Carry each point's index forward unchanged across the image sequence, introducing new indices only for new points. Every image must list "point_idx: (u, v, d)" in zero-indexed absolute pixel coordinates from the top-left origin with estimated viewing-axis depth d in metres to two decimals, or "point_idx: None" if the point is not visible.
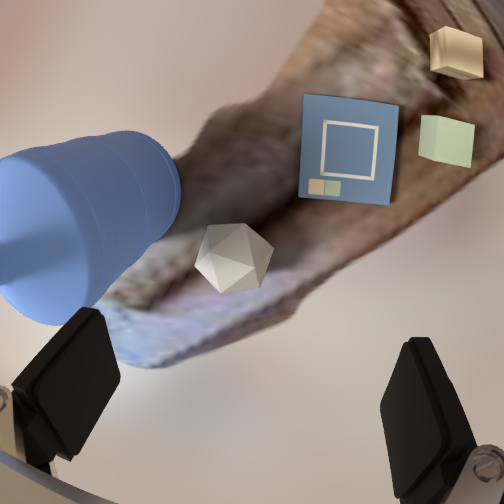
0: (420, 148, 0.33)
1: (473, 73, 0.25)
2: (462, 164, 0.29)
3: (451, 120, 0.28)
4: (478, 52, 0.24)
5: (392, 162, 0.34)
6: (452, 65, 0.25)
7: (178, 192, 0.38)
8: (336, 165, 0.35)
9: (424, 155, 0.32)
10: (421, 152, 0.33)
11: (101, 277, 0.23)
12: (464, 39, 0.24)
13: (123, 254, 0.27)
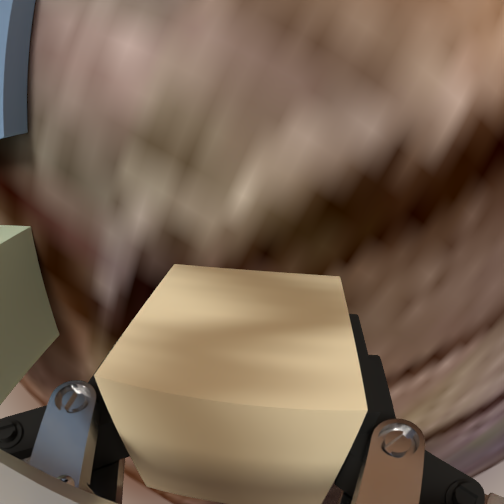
0: None
1: (139, 465, 0.07)
2: None
3: None
4: (246, 498, 0.07)
5: None
6: (116, 403, 0.06)
7: None
8: None
9: None
10: None
11: None
12: (295, 472, 0.06)
13: None
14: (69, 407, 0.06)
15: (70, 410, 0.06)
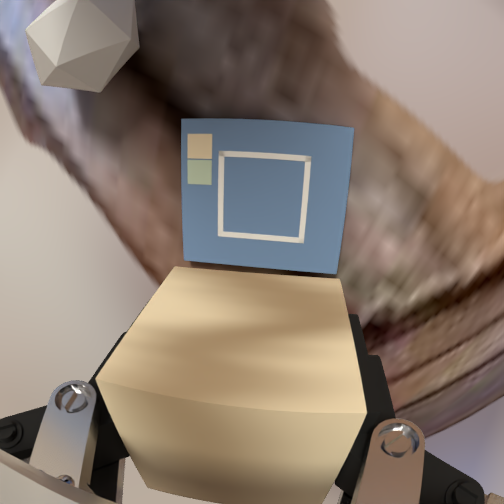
0: None
1: (140, 467, 0.07)
2: None
3: None
4: (247, 499, 0.07)
5: (248, 263, 0.25)
6: (117, 406, 0.06)
7: None
8: (236, 176, 0.23)
9: None
10: None
11: None
12: (295, 474, 0.06)
13: None
14: (69, 407, 0.06)
15: (70, 410, 0.06)
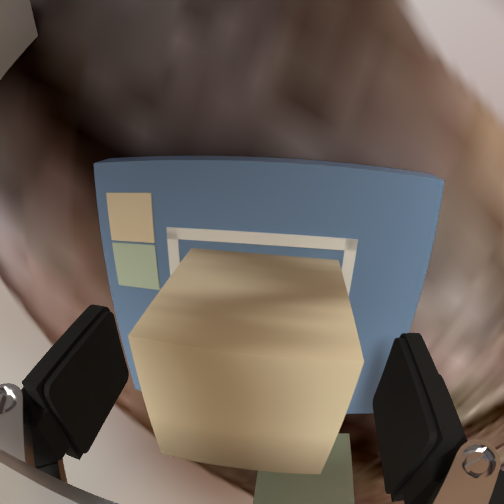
0: None
1: (157, 430, 0.08)
2: None
3: None
4: (255, 461, 0.08)
5: None
6: (145, 362, 0.07)
7: None
8: None
9: None
10: None
11: None
12: (301, 428, 0.07)
13: None
14: (2, 409, 0.05)
15: (3, 411, 0.05)
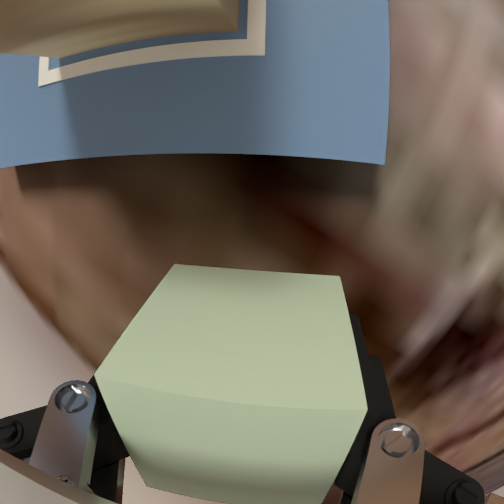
0: (196, 275, 0.09)
1: None
2: (143, 471, 0.07)
3: (337, 459, 0.06)
4: None
5: (105, 147, 0.07)
6: None
7: None
8: None
9: (154, 299, 0.08)
10: (178, 281, 0.09)
11: None
12: None
13: None
14: (69, 407, 0.06)
15: (70, 410, 0.06)
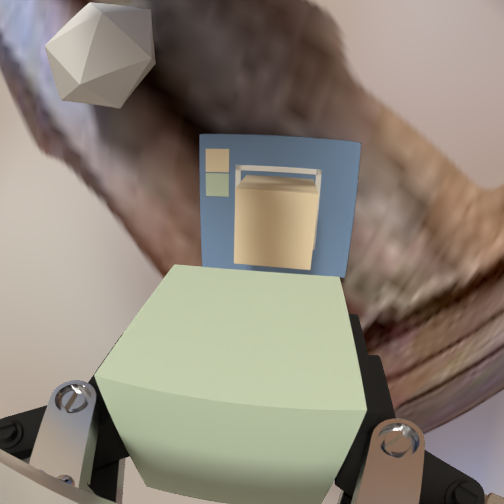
0: (196, 276, 0.09)
1: (235, 243, 0.21)
2: (143, 471, 0.07)
3: (336, 459, 0.06)
4: (280, 258, 0.21)
5: (263, 269, 0.27)
6: (240, 199, 0.20)
7: None
8: None
9: (154, 300, 0.08)
10: (177, 282, 0.09)
11: None
12: (299, 231, 0.20)
13: None
14: (69, 407, 0.06)
15: (70, 410, 0.06)
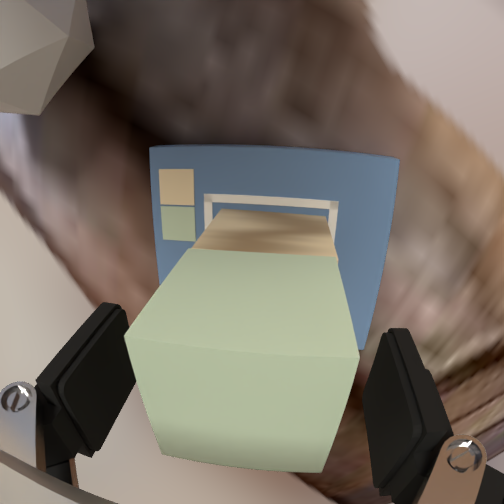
0: (209, 257, 0.10)
1: None
2: (160, 436, 0.08)
3: (336, 411, 0.07)
4: None
5: None
6: None
7: None
8: None
9: (173, 276, 0.09)
10: (193, 262, 0.10)
11: None
12: None
13: None
14: (15, 407, 0.05)
15: (16, 409, 0.05)
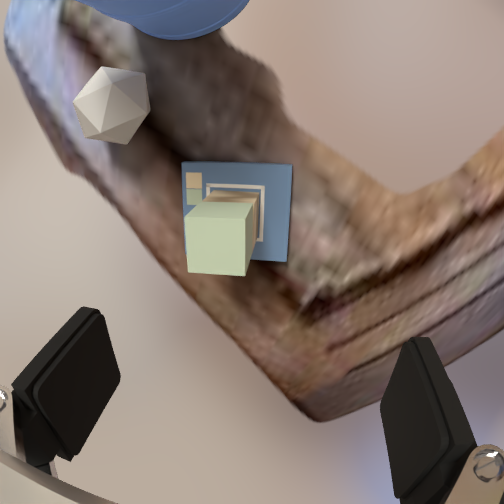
0: (208, 203, 0.30)
1: None
2: (189, 259, 0.28)
3: (243, 240, 0.26)
4: None
5: None
6: None
7: (180, 37, 0.28)
8: None
9: (196, 207, 0.29)
10: (202, 204, 0.30)
11: None
12: None
13: (94, 2, 0.16)
14: None
15: None
